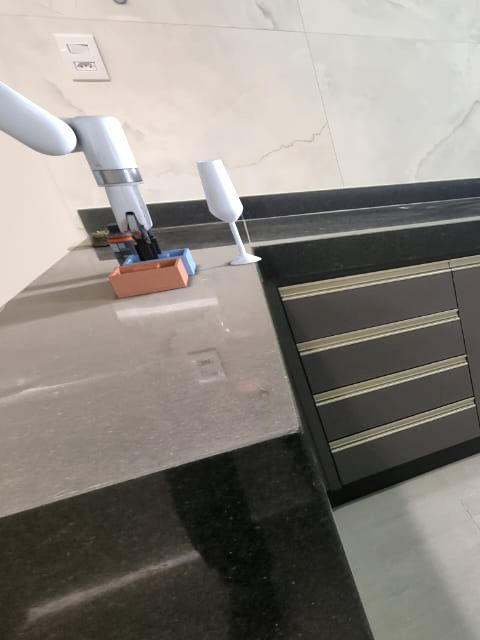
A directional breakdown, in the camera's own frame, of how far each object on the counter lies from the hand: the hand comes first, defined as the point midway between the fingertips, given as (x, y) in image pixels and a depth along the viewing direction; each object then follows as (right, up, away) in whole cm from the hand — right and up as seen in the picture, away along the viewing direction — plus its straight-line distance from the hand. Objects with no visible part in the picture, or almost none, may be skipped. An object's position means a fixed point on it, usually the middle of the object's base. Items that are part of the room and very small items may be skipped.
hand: (152, 258), depth 122 cm
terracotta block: (+7, -7, -7) cm, 12 cm away
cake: (-49, +12, +40) cm, 65 cm away
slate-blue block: (+1, -3, +2) cm, 4 cm away
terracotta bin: (+7, -8, -7) cm, 12 cm away
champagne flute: (+13, +1, +12) cm, 18 cm away
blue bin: (+1, -3, +2) cm, 4 cm away
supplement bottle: (-11, -1, +9) cm, 14 cm away
